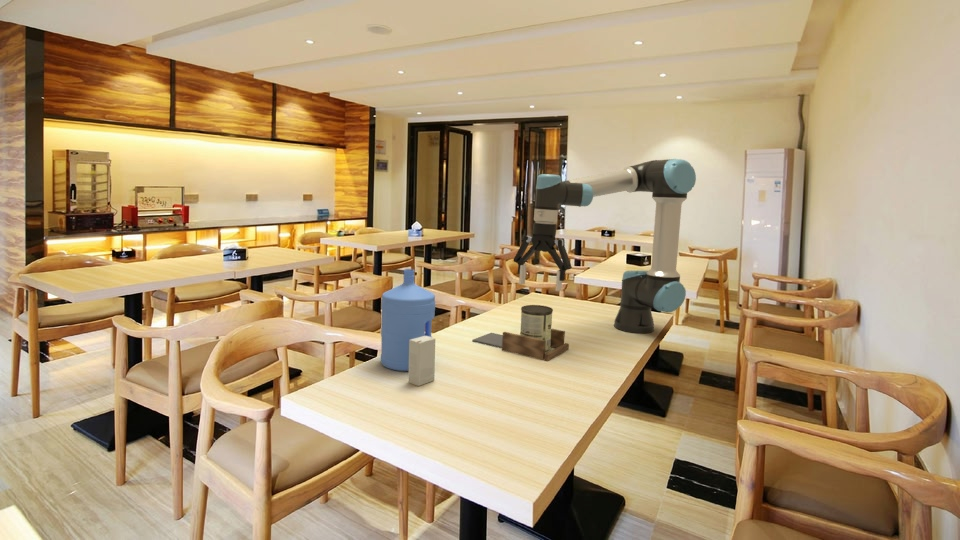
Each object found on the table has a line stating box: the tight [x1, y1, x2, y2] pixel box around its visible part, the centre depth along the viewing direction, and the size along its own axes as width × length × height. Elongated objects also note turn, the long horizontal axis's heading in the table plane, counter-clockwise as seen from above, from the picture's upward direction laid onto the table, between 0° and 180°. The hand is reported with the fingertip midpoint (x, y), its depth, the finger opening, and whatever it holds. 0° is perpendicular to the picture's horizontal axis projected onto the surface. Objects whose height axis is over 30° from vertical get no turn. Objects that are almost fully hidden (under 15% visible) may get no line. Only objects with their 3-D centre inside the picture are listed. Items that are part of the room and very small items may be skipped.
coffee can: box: [519, 304, 554, 354], centre depth 172 cm, size 10×10×14 cm
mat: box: [472, 332, 503, 349], centre depth 181 cm, size 12×12×1 cm
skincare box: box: [407, 336, 436, 387], centre depth 140 cm, size 6×4×12 cm
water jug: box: [380, 268, 436, 372], centre depth 153 cm, size 16×16×28 cm
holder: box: [501, 328, 570, 362], centre depth 172 cm, size 17×15×6 cm
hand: (539, 287), depth 172 cm, fingers open, 13 cm apart
